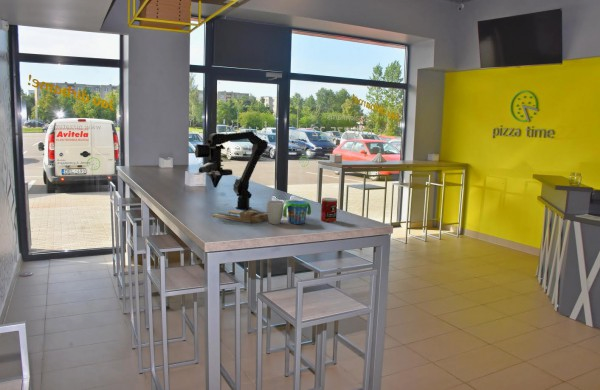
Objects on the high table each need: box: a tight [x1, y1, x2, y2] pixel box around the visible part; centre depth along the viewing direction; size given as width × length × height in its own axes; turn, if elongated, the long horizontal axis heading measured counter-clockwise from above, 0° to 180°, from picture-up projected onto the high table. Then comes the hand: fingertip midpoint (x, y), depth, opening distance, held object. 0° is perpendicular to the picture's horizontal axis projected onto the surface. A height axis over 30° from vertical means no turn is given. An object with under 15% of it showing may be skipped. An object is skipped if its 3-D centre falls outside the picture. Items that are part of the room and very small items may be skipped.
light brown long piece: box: [211, 210, 269, 224], centre depth 239 cm, size 14×25×3 cm, turn 58°
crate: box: [239, 209, 259, 220], centre depth 235 cm, size 7×6×4 cm
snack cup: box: [282, 199, 312, 225], centre depth 231 cm, size 16×10×10 cm
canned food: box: [320, 197, 338, 223], centre depth 239 cm, size 8×8×11 cm
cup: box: [266, 200, 285, 225], centre depth 230 cm, size 8×8×10 cm
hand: (215, 187), depth 255 cm, fingers closed
